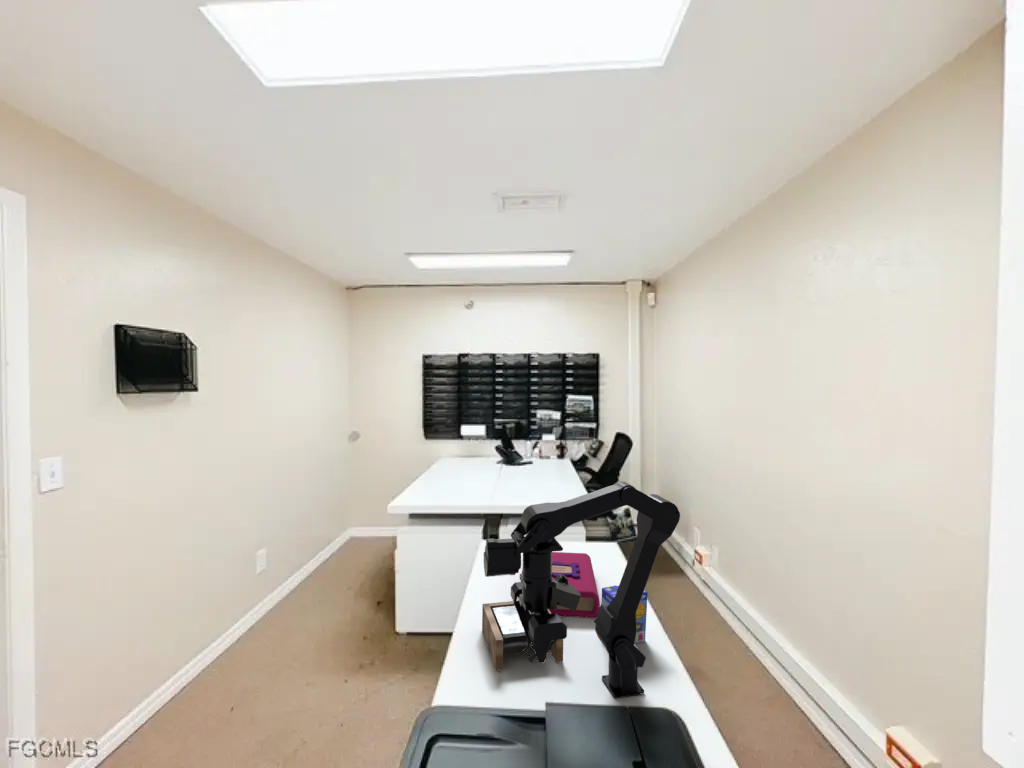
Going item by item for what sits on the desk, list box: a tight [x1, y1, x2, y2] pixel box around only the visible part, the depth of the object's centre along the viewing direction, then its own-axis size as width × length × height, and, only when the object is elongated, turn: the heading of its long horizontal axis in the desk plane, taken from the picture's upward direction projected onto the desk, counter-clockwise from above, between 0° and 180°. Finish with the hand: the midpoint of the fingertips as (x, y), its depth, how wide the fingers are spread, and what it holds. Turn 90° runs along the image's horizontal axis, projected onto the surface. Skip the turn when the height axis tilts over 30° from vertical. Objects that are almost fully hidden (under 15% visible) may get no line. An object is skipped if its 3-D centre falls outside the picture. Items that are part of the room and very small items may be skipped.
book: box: [521, 551, 601, 619], centre depth 141 cm, size 21×28×8 cm
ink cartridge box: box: [600, 584, 648, 644], centre depth 117 cm, size 10×6×14 cm, turn 111°
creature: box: [516, 638, 557, 663], centre depth 96 cm, size 8×5×8 cm
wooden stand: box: [481, 600, 564, 672], centre depth 114 cm, size 16×15×6 cm
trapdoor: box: [493, 606, 526, 639], centre depth 113 cm, size 12×11×1 cm
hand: (535, 651), depth 96 cm, fingers closed on creature, 7 cm apart
